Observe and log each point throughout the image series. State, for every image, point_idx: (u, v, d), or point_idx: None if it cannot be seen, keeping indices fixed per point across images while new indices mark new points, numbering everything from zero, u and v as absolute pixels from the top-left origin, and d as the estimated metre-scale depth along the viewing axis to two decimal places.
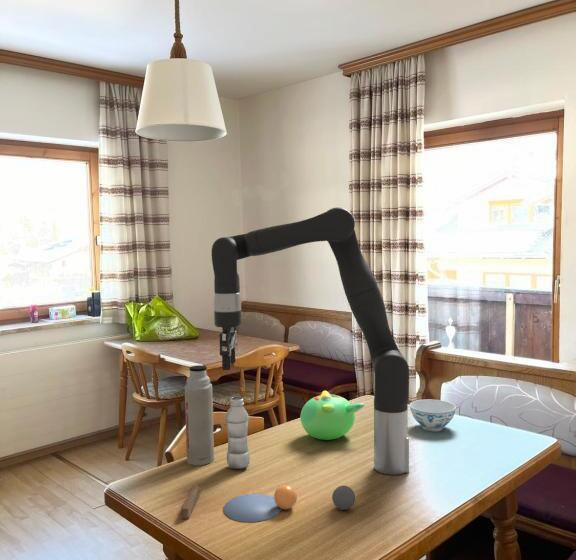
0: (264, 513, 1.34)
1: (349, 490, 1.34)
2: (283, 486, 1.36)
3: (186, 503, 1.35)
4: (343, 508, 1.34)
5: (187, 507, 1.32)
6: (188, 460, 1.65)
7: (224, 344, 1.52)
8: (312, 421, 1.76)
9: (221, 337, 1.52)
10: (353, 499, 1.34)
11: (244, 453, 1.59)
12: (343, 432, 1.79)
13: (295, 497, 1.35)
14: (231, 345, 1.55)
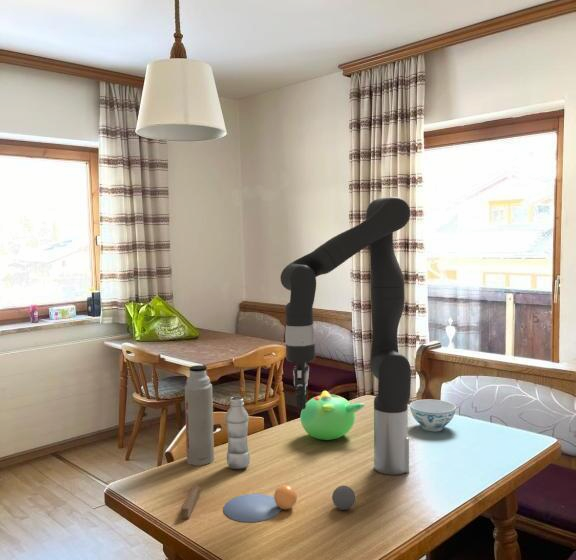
0: (264, 513, 1.34)
1: (349, 490, 1.34)
2: (283, 486, 1.36)
3: (186, 503, 1.35)
4: (343, 508, 1.34)
5: (187, 507, 1.32)
6: (188, 460, 1.65)
7: (300, 382, 1.39)
8: (312, 421, 1.76)
9: (296, 374, 1.39)
10: (353, 499, 1.34)
11: (244, 453, 1.59)
12: (343, 432, 1.79)
13: (295, 497, 1.35)
14: (306, 382, 1.42)
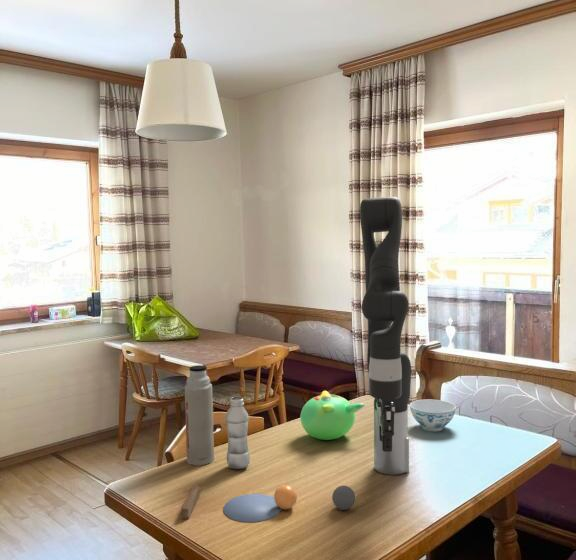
0: (264, 513, 1.34)
1: (349, 490, 1.34)
2: (283, 486, 1.36)
3: (186, 503, 1.35)
4: (343, 508, 1.34)
5: (187, 507, 1.32)
6: (188, 460, 1.65)
7: (388, 424, 1.27)
8: (312, 421, 1.76)
9: (385, 416, 1.27)
10: (353, 499, 1.34)
11: (244, 453, 1.59)
12: (343, 432, 1.79)
13: (295, 497, 1.35)
14: None
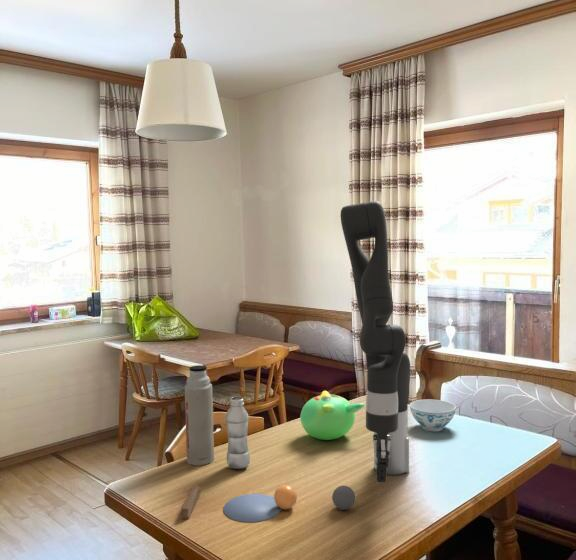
0: (264, 513, 1.34)
1: (349, 490, 1.34)
2: (283, 486, 1.36)
3: (186, 503, 1.35)
4: (343, 508, 1.34)
5: (187, 507, 1.32)
6: (188, 460, 1.65)
7: (383, 461, 1.30)
8: (312, 421, 1.76)
9: (380, 456, 1.28)
10: (353, 499, 1.34)
11: (244, 453, 1.59)
12: (343, 432, 1.79)
13: (295, 497, 1.35)
14: None
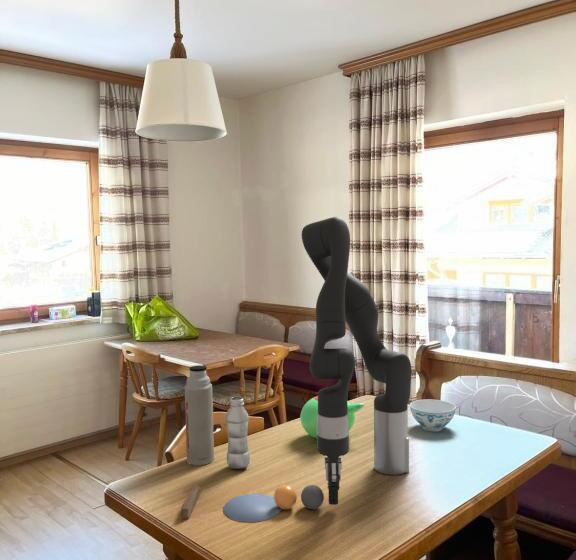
0: (264, 513, 1.34)
1: (302, 501, 1.35)
2: (283, 486, 1.36)
3: (186, 503, 1.35)
4: (317, 496, 1.34)
5: (187, 507, 1.32)
6: (188, 460, 1.65)
7: (334, 484, 1.30)
8: (312, 421, 1.76)
9: (331, 480, 1.29)
10: (304, 494, 1.35)
11: (244, 453, 1.59)
12: None
13: (295, 497, 1.35)
14: (339, 478, 1.33)
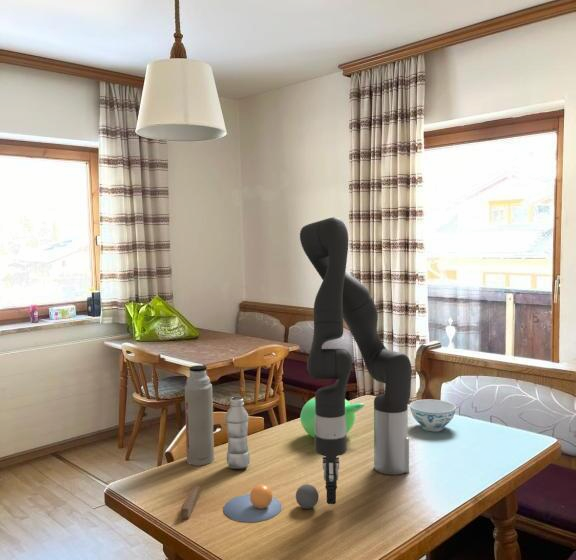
0: (264, 513, 1.34)
1: (299, 504, 1.36)
2: None
3: (186, 503, 1.35)
4: (309, 493, 1.34)
5: (187, 507, 1.32)
6: (188, 460, 1.65)
7: (331, 484, 1.31)
8: (312, 421, 1.76)
9: (328, 480, 1.30)
10: (297, 496, 1.35)
11: (244, 453, 1.59)
12: None
13: (253, 490, 1.36)
14: (337, 478, 1.34)
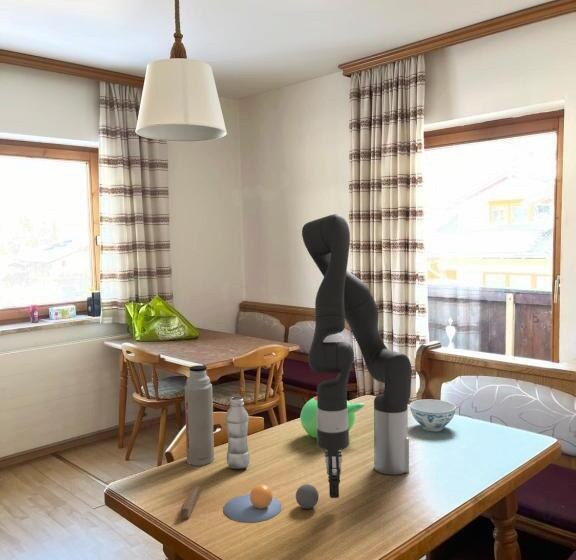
0: (264, 513, 1.34)
1: (299, 504, 1.36)
2: None
3: (186, 503, 1.35)
4: (309, 493, 1.34)
5: (187, 507, 1.32)
6: (188, 460, 1.65)
7: (334, 478, 1.30)
8: (312, 421, 1.76)
9: (331, 474, 1.29)
10: (297, 496, 1.35)
11: (244, 453, 1.59)
12: None
13: (253, 490, 1.36)
14: (340, 472, 1.33)
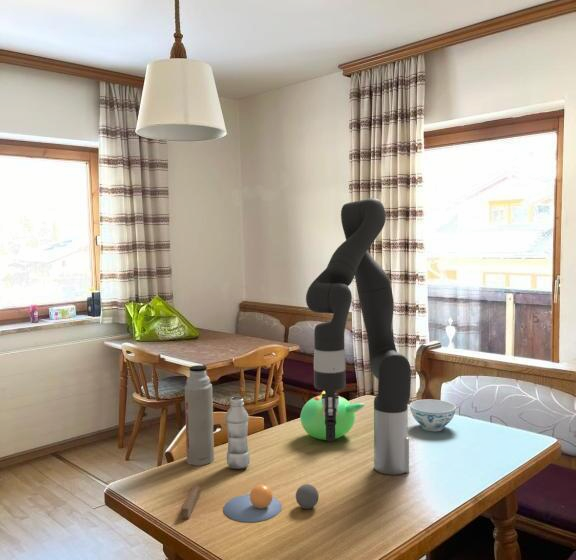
0: (264, 513, 1.34)
1: (299, 504, 1.36)
2: None
3: (186, 503, 1.35)
4: (309, 493, 1.34)
5: (187, 507, 1.32)
6: (188, 460, 1.65)
7: (330, 418, 1.30)
8: (312, 421, 1.76)
9: (327, 413, 1.28)
10: (297, 496, 1.35)
11: (244, 453, 1.59)
12: (343, 432, 1.79)
13: (253, 490, 1.36)
14: (336, 414, 1.33)
